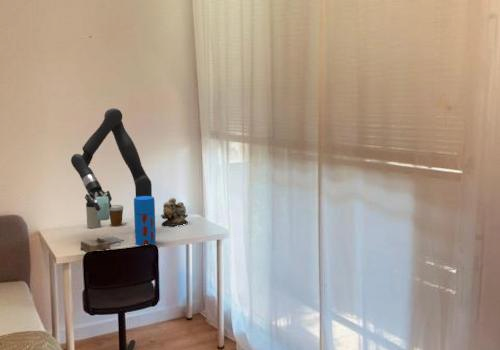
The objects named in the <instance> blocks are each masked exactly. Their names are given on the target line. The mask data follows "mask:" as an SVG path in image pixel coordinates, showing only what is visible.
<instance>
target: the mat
mask: <svg viewBox="0 0 500 350" xmlns="http://www.w3.org/2000/svg"><path fill="white" fill-rule="evenodd" d="M102 239H103V240H106V241H108V242H110V245H113V244H116V243H122V242H125V241H124V239H122V238H121V239H120V238H119V237H116V236H110V237H104V238H102ZM95 242H96V243H97V239H96V240H95Z"/></svg>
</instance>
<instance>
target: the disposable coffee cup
mask: <svg viewBox="0 0 500 350" xmlns="http://www.w3.org/2000/svg"><path fill="white" fill-rule="evenodd" d="M123 213H124V206H123V205H121V204H113V205H112V204H111V208H110V214H109V220H110V221H109V222H110V225H111V227H120V226H122V224H123Z"/></svg>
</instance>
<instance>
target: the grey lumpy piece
mask: <svg viewBox="0 0 500 350" xmlns="http://www.w3.org/2000/svg"><path fill="white" fill-rule="evenodd" d="M176 202H177V199H176V198H174V197H171V198H169V199H168V201H166V202H165V203H163V208H162V209H163V214H161V215H160V218H161V219H163V220H164V221H163V222H162V223H161V226H162V227H165V226H173V227H174V226H177V225H183V224H186V223H187V224H189V223H188V220H187V219H186V218H188V216H189V215H188V214H186V213H187V209H186V206H185V205H184V202H183V201H178V202H177V203H176ZM187 224H186V225H187ZM183 226H184V225H183Z"/></svg>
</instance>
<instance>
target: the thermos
mask: <svg viewBox="0 0 500 350" xmlns="http://www.w3.org/2000/svg"><path fill="white" fill-rule="evenodd" d="M155 205H156V204H155V197H154V196H153V195H152V196H140V197H136V196H135V197H134V198H133V212H134V214H133V215H134V216H133V217H134V238H135V244H136V245H137V246H140V245H145V244H152V245H154V244H155V243H156V236H157V235H156V215H155V214H156V212H155V210H156V207H155ZM153 243H154V244H153Z"/></svg>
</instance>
